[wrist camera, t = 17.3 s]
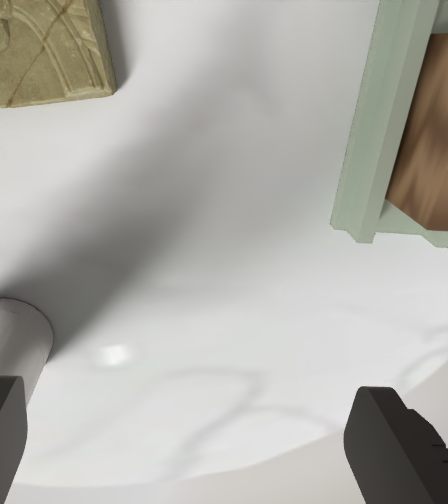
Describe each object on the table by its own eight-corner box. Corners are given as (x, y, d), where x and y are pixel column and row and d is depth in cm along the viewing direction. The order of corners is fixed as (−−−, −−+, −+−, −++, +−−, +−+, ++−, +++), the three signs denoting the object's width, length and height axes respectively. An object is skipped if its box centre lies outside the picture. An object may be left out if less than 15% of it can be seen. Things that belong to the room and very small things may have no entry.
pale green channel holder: (436, 230, 46) (461, 248, 42) (329, 224, 44) (345, 242, 40) (518, -7, 36) (560, -13, 32) (386, -26, 35) (413, -35, 31)
